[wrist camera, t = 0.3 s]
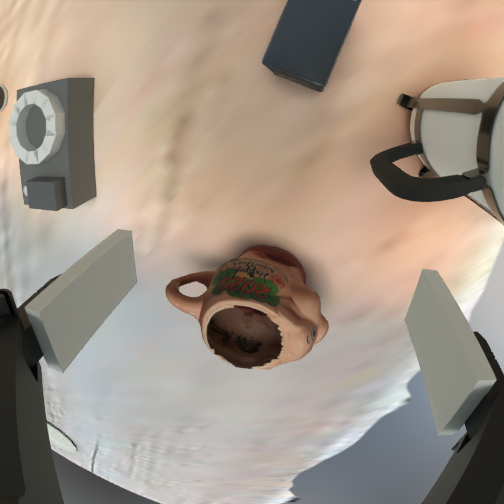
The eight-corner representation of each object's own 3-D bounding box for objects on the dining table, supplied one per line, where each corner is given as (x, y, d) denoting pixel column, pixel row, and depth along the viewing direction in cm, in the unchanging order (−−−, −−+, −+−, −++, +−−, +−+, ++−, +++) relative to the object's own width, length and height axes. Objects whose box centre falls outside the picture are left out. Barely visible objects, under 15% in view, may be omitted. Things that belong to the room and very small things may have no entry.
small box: (301, 1, 29) (298, -32, 20) (352, 20, 29) (367, -7, 20) (270, 73, 34) (257, 62, 25) (322, 93, 34) (327, 88, 25)
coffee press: (418, 43, 29) (591, -22, 2) (507, 120, 30) (683, 183, 3) (353, 154, 37) (454, 283, 10) (447, 221, 38) (574, 383, 11)
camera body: (43, 87, 38) (5, 91, 31) (94, 78, 37) (56, 78, 29) (47, 192, 46) (14, 209, 39) (96, 196, 45) (62, 215, 37)
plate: (49, 439, 99) (48, 442, 98) (26, 409, 90) (24, 412, 89) (86, 455, 96) (84, 458, 94) (63, 426, 87) (61, 429, 85)
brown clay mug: (189, 294, 50) (153, 354, 37) (192, 221, 44) (148, 269, 32) (317, 320, 48) (316, 389, 35) (337, 248, 42) (347, 309, 30)
